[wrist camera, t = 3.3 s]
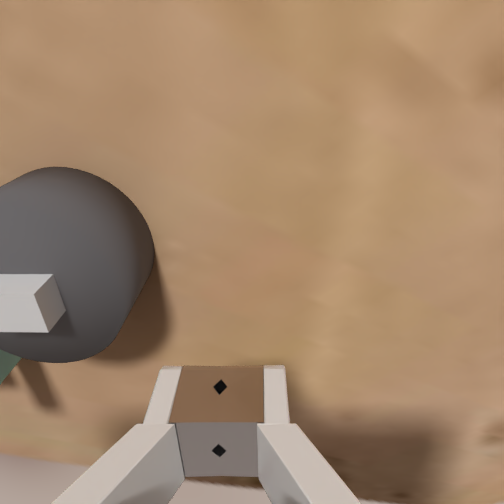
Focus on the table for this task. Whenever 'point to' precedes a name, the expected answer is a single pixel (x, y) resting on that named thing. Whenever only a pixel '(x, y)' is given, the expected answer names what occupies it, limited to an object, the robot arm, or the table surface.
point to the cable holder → (7, 363)
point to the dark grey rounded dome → (68, 264)
